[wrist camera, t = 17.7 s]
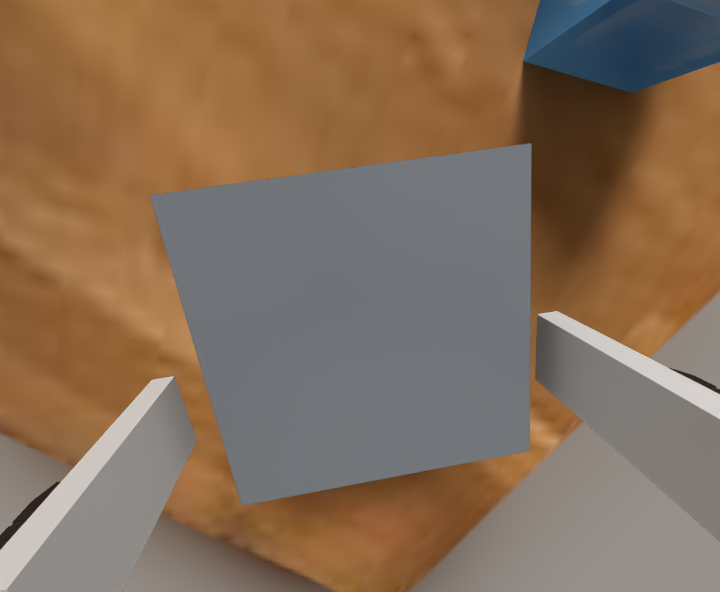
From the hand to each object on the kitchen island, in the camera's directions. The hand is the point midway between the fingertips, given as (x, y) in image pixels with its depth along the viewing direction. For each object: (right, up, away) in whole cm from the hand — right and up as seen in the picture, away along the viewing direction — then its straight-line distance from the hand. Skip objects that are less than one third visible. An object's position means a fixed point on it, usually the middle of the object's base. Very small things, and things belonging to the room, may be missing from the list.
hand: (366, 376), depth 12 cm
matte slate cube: (-1, +4, +6) cm, 8 cm away
